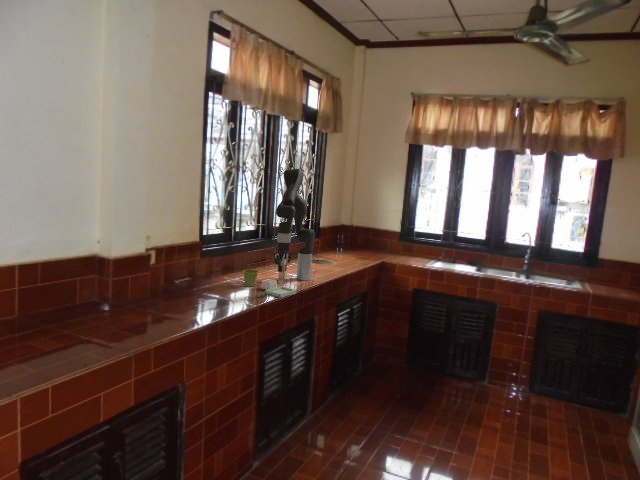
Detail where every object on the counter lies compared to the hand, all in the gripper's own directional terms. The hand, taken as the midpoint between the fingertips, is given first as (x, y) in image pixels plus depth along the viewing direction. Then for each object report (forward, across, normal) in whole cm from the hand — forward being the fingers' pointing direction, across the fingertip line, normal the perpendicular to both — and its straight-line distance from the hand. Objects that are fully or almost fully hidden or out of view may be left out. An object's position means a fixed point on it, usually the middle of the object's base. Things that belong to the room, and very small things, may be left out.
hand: (282, 271), depth 260 cm
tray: (+13, 0, 0) cm, 13 cm away
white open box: (+13, -3, -11) cm, 17 cm away
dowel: (+7, 0, 0) cm, 7 cm away
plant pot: (+13, -1, -24) cm, 28 cm away
